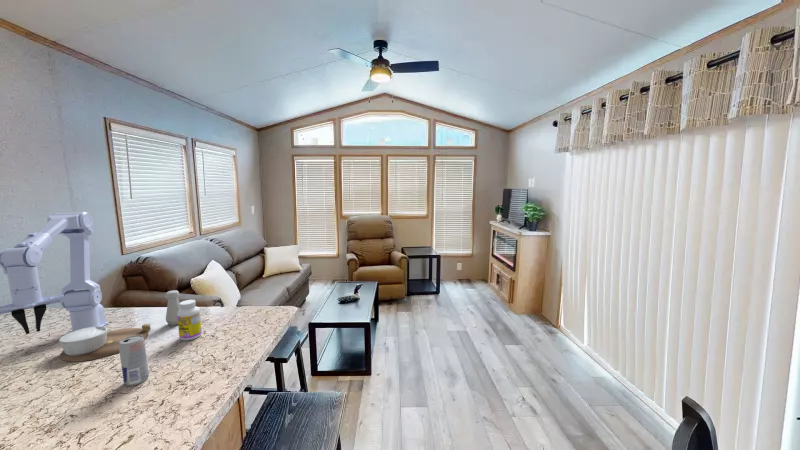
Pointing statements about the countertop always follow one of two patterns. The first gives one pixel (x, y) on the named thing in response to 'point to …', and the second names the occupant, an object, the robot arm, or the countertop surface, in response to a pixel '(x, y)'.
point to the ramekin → (84, 340)
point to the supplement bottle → (189, 320)
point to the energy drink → (133, 360)
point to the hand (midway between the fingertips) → (33, 331)
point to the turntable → (108, 344)
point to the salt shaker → (172, 307)
